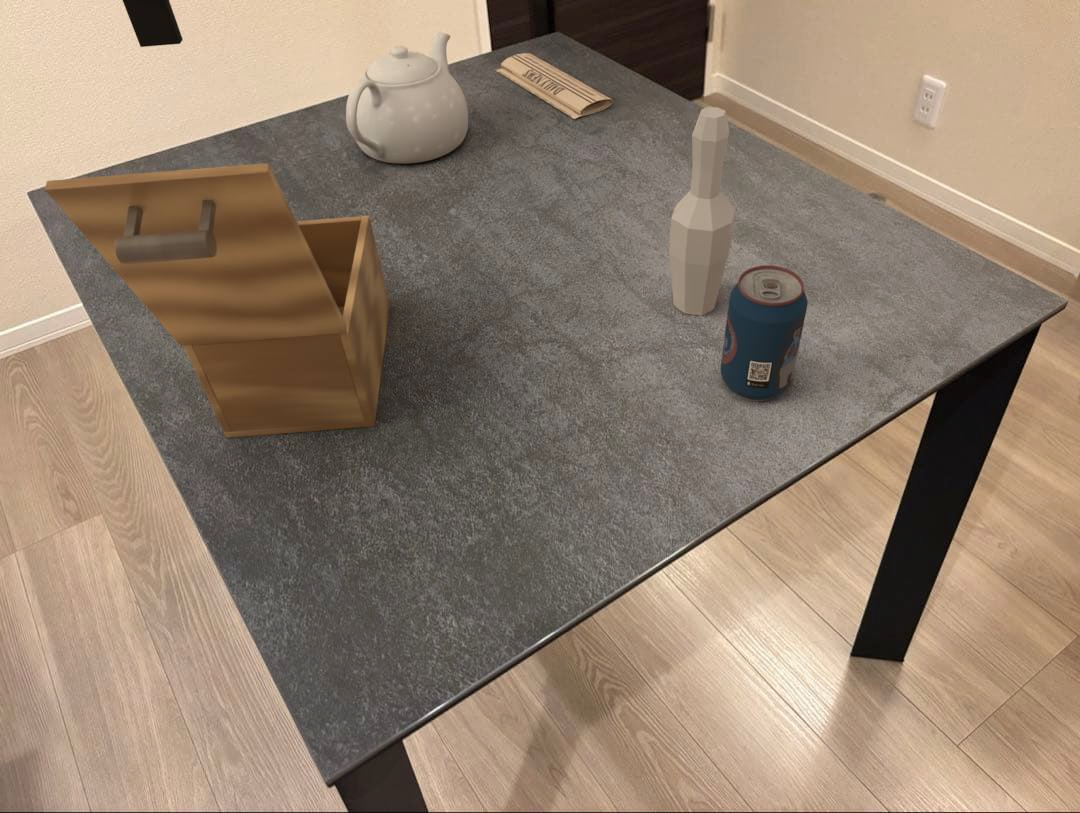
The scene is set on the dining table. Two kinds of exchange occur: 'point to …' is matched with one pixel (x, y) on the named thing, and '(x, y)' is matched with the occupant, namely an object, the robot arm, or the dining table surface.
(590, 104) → the newspaper
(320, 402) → the chest
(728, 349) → the soda can
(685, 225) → the faceted bottle
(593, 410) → the dining table surface
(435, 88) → the teapot
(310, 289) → the lid
